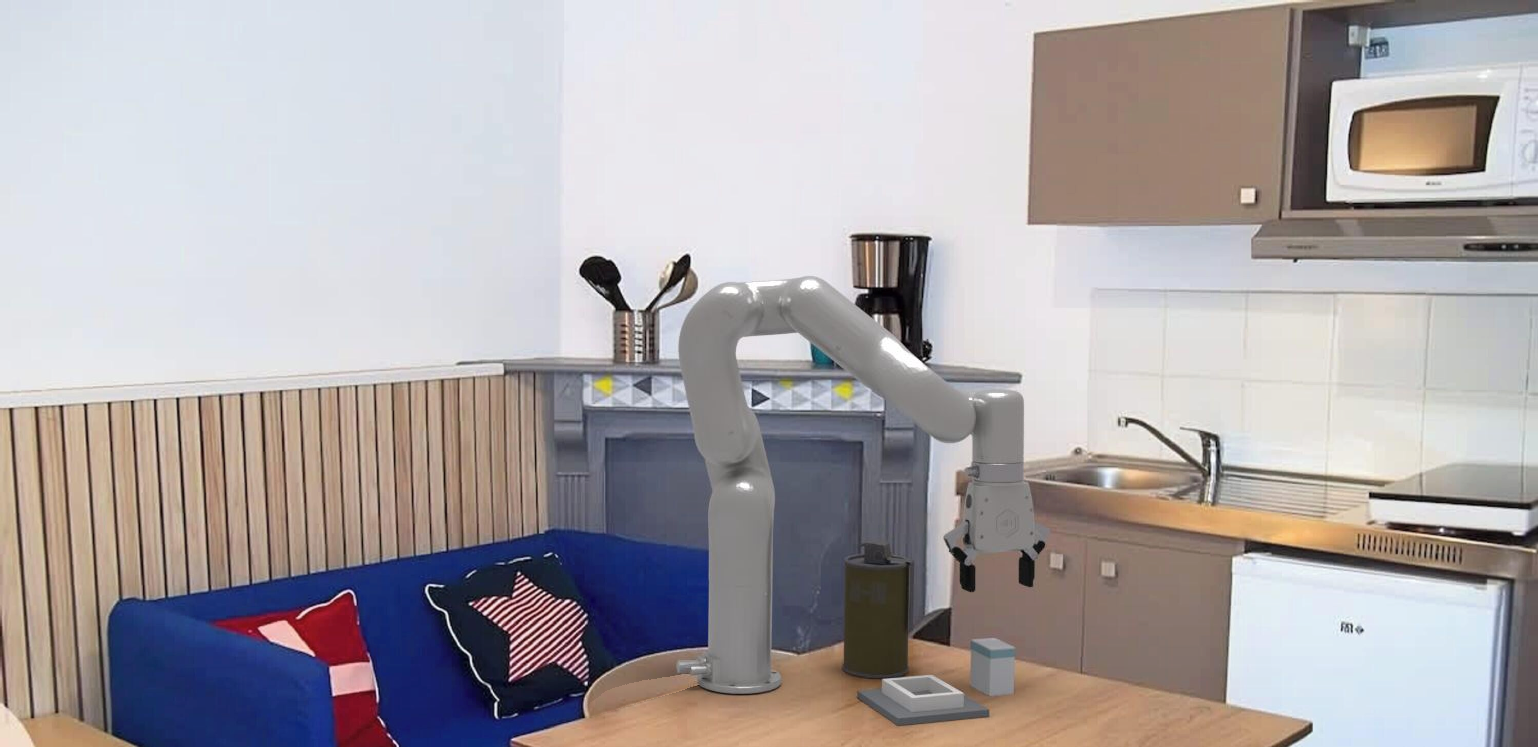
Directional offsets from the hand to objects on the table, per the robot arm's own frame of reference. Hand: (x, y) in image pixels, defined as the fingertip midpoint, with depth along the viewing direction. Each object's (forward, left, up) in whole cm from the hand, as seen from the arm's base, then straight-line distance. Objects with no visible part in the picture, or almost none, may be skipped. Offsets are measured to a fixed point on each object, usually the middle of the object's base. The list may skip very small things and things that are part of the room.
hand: (997, 587), depth 211 cm
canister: (-12, +15, -16) cm, 25 cm away
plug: (0, 0, -15) cm, 15 cm away
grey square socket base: (-14, -5, -15) cm, 22 cm away
